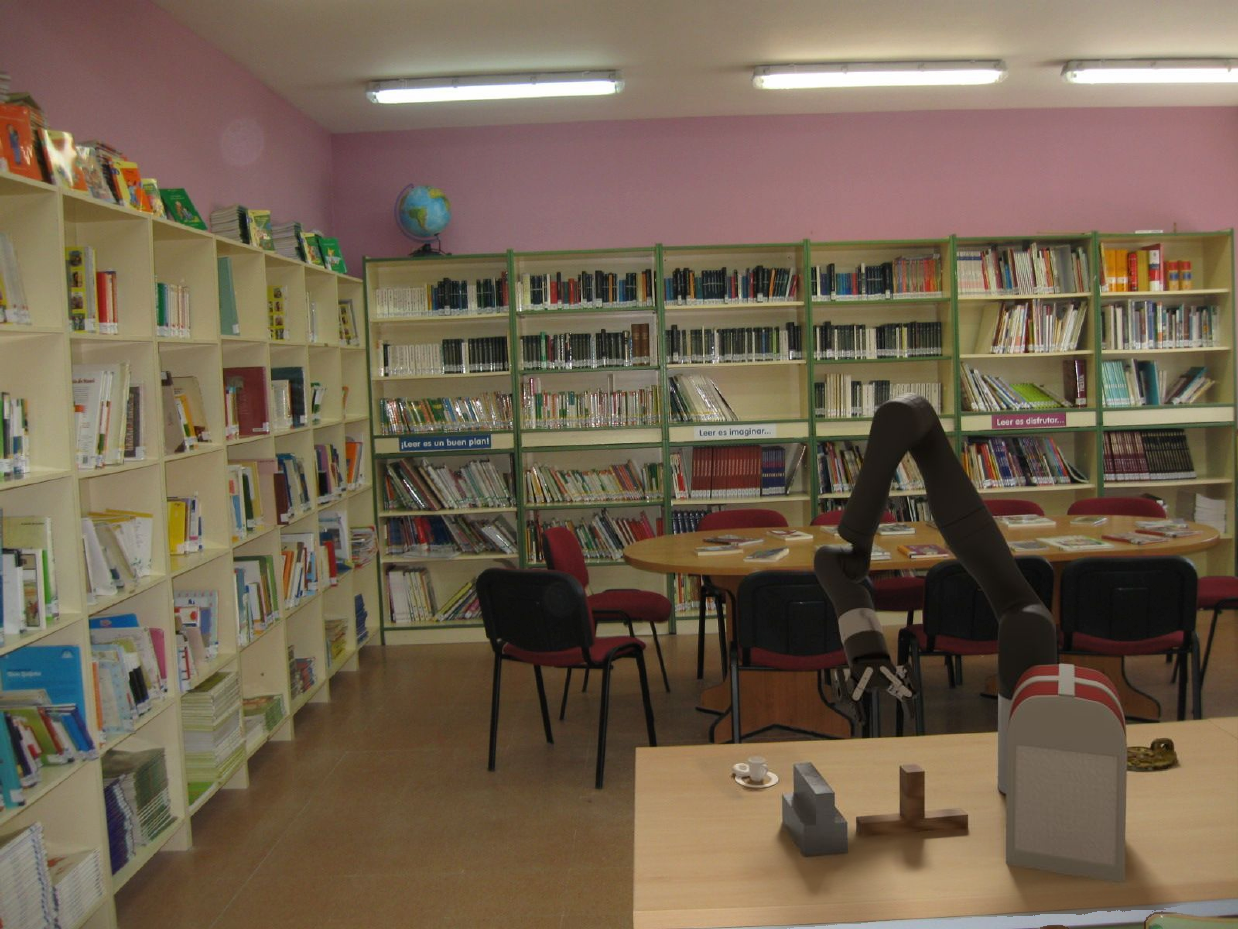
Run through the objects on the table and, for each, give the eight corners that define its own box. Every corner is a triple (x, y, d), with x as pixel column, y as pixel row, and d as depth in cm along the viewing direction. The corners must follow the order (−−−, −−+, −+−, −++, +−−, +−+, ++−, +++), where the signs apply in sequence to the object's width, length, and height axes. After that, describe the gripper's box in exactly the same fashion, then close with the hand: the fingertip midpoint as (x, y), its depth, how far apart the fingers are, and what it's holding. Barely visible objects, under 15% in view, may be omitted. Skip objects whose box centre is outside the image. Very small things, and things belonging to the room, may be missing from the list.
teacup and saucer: (727, 774, 188) (726, 753, 188) (766, 768, 190) (766, 748, 190) (744, 792, 180) (743, 770, 179) (785, 787, 182) (785, 765, 181)
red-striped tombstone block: (1003, 863, 151) (1005, 690, 149) (1010, 815, 167) (1011, 657, 165) (1126, 884, 144) (1130, 702, 142) (1120, 831, 160) (1124, 667, 158)
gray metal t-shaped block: (782, 822, 167) (781, 764, 166) (823, 819, 168) (822, 761, 167) (804, 857, 155) (803, 794, 154) (847, 853, 156) (847, 791, 155)
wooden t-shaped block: (960, 821, 166) (960, 760, 165) (968, 830, 163) (969, 767, 162) (855, 830, 164) (855, 768, 163) (862, 839, 161) (861, 776, 160)
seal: (1118, 781, 182) (1191, 772, 185) (1120, 757, 181) (1194, 749, 184) (1086, 756, 191) (1156, 748, 194) (1088, 733, 190) (1158, 726, 193)
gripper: (830, 631, 179) (852, 715, 168) (906, 626, 180) (933, 709, 170) (820, 651, 184) (842, 734, 174) (895, 647, 186) (920, 728, 176)
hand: (887, 722), depth 172 cm, fingers open, 8 cm apart
